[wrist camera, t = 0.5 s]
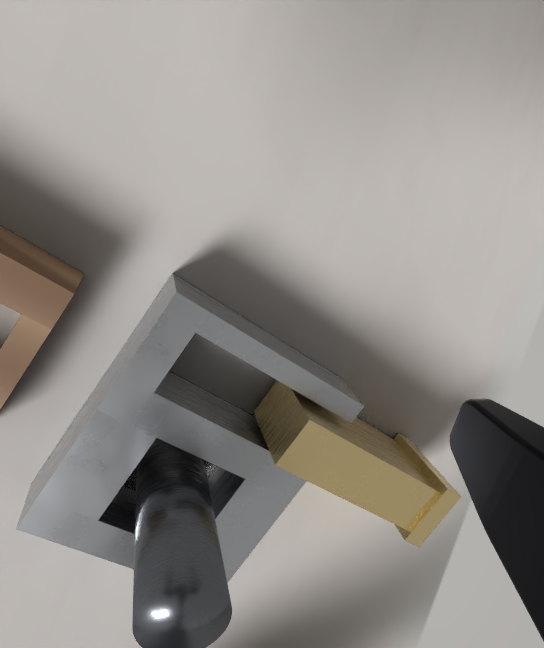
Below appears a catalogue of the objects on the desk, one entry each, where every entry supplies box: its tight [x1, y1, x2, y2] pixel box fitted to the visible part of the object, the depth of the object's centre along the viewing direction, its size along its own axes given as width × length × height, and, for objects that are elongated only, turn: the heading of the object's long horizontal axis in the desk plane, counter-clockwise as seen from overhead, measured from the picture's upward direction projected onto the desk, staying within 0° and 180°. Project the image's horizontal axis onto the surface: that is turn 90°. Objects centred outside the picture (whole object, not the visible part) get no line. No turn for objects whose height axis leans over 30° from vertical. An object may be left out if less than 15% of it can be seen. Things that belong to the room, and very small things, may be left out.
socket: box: [16, 273, 364, 583], centre depth 22 cm, size 12×10×3 cm
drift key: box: [254, 380, 461, 547], centre depth 24 cm, size 3×9×5 cm, turn 54°
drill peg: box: [133, 438, 232, 648], centre depth 20 cm, size 3×3×9 cm
